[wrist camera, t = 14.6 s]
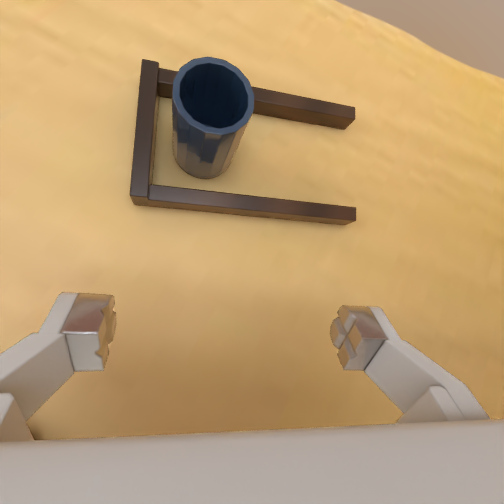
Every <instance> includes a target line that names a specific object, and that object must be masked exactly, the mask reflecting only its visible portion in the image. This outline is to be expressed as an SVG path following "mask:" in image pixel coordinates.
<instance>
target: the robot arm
mask: <svg viewBox="0 0 504 504" xmlns="http://www.w3.org/2000/svg"><path fill="white" fill-rule="evenodd" d="M114 305H115V300H114V296H113V295H105V294H90V293H71V292H62V293H61V294H60V295H58V297H57V299H56V301H55V303H54V304H53V306H52V308H51V310H50V312H49V314H48V316H47V317H46V319H45V321H44V323H43V325H42V327H41V328H40V330H39V332H38V333H32V334H30V335H28V336H27V337H25V338H24V339H22V340H21V341H19V342H18V343H16V344H15V345H13V346H12V347H10V348H9V349H7V350H6V351H4V352H3V353H1V354H0V504H504V419H490V418H489V416H488V415H487V414H486V412H485V411H484V409H483V408H482V407H481V405H480V404H479V403H478V401H477V400H476V398H475V397H474V396H473V394H472V393H471V392H470V390H469V389H468V387H467V386H466V385H465V384H464V383H463V382H461V381H460V380H459V379H457V378H456V377H454V376H453V375H452V374H450V373H449V372H448V371H446V370H445V369H443V368H442V367H441V366H439V365H438V364H437V363H435V362H434V361H432V360H431V359H430V358H428V357H427V356H426V355H424V354H423V353H422V352H420V351H419V350H417V349H416V348H415V347H413V346H412V345H411V344H409V343H408V342H406V341H404V340H401V339H400V337H399V335H398V334H397V332H396V331H395V329H394V328H393V326H392V324H391V323H390V321H389V320H388V318H387V317H386V315H385V313H384V312H383V310H382V309H381V308H380V307H371V306H366V307H365V306H341V307H340V308H339V310H338V312H337V313H338V316H339V317H337V318H336V319H334V320H333V322H332V324H331V326H330V336H331V340H332V343H333V345H334V346H335V347H337V348H338V349H339V351H338V354H337V355H338V358H339V360H340V363H341V365H342V367H343V370H361V371H364V372H365V373H366V374H367V375H368V377H369V378H370V379H371V380H372V381H373V382H374V383H375V384H376V385H377V386H378V387H379V388H380V389H381V390H382V391H383V392H384V393H385V394H386V395H387V397H388V398H389V399H390V400H391V401H392V402H393V403H394V404H395V405H396V406H397V407H398V408H399V409H400V410H401V411H402V412H403V413H404V414H403V415H402V416H401V417H400V418H399V419H398V420H397V422H396V424H378V425H357V426H335V427H313V428H291V429H270V430H248V431H227V432H206V433H185V434H163V435H142V436H120V437H99V438H77V439H56V440H34V439H33V437H32V434H31V432H30V430H29V428H28V426H27V424H26V421H27V420H28V419H29V418H30V417H31V416H32V415H33V414H34V413H35V412H36V411H37V410H38V409H39V408H40V407H41V406H42V405H43V404H44V403H45V402H46V401H47V400H48V399H49V398H50V397H51V396H52V395H53V394H54V393H55V392H56V391H57V390H58V389H59V388H60V387H61V386H62V385H63V384H64V383H65V382H66V381H67V380H68V379H69V378H70V377H71V376H72V375H73V374H74V372H79V371H104V368H105V365H106V362H107V358H108V355H109V346H108V344H109V343H111V342H112V341H113V338H114V334H115V328H116V312H114V311H113V308H114Z"/></svg>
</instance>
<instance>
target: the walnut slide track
mask: <svg viewBox="0 0 504 504" xmlns="http://www.w3.org/2000/svg"><path fill="white" fill-rule="evenodd" d="M177 73H178V72H177V71H172V70H167V69H162V68H159V63H158V62H155V61H150V60H145V59H142V64H141V75H140V86H139V97H138V108H137V119H136V130H135V141H134V152H133V164H132V175H131V186H130V197H131V199H132V201H133V203H134V204H135V205H144V206H154V207H164V208H175V209H185V210H195V211H206V212H216V213H226V214H237V215H247V216H257V217H267V218H278V219H288V220H298V221H309V222H319V223H329V224H340V225H346V224H349V223H351V222H354V221H356V208H355V207H346V206H338V205H329V204H320V203H311V202H302V201H294V200H285V199H276V198H267V197H258V196H249V195H241V194H232V193H223V192H214V191H205V190H197V189H188V188H179V187H170V186H161V185H152V178H153V166H154V154H155V142H156V129H157V117H158V105H159V96H162V97H168V98H172V92H173V80H174V78H175V76H176V75H177ZM251 88H252V90H253V93H254V111H253V113H257V114H262V115H268V116H273V117H279V118H284V119H290V120H295V121H301V122H307V123H312V124H318V125H323V126H329V127H334V128H340V129H346V128H347V127H348V126H349V125H350V124H351V123H352V122H353V121H354V120H355V107H351V106H346V105H341V104H336V103H331V102H326V101H321V100H316V99H311V98H306V97H301V96H296V95H291V94H286V93H281V92H276V91H271V90H266V89H261V88H256V87H251Z"/></svg>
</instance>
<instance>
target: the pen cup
mask: <svg viewBox="0 0 504 504" xmlns="http://www.w3.org/2000/svg"><path fill="white" fill-rule="evenodd" d="M253 111H254V93H253V90H252V88H251V85H250V82H249V81H248V79H247V78H246V77H245V76H244V74H243V73H242V72H241V71H240V70H239V69H238V68H237V67H235V66H234V65H232V64H230V63H229V62H227V61H225V60H222V59H217V58H212V57H203V58H197V59H193V60H191V61H190V62H188V63H187V64H185V65H184V66H182V67H181V68H180V69H179V71H178V73H177V75H176V76H175V78H174V80H173V92H172V113H173V152H174V156H175V159H176V161H177V163H178V164H179V166H180V167H181V168H182V169H183V170H184V171H185V172H186V173H188V174H190V175H192V176H194V177H197V178H202V179H209V178H214V177H217V176H219V175H221V174H222V173H223V172H224V171H225V170H226V169H227V168H228V166H229V165H230V163H231V160H232V158H233V156H234V154H235V152H236V149H237V147H238V145H239V143H240V140H241V138H242V136H243V134H244V131H245V129H246V127H247V125H248V122H249V120H250V118H251V116H252V113H253Z"/></svg>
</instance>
